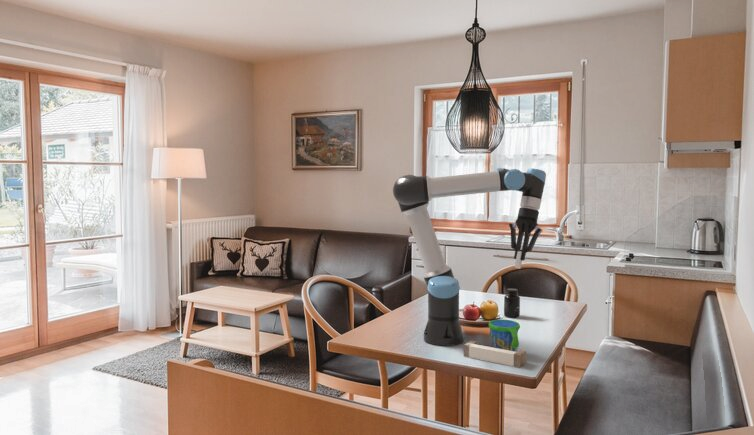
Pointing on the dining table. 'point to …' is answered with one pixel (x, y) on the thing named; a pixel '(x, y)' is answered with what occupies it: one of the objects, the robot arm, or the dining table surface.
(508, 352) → the rail
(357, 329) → the dining table surface
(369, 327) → the dining table surface
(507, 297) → the supplement bottle
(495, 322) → the snack cup
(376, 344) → the dining table surface
